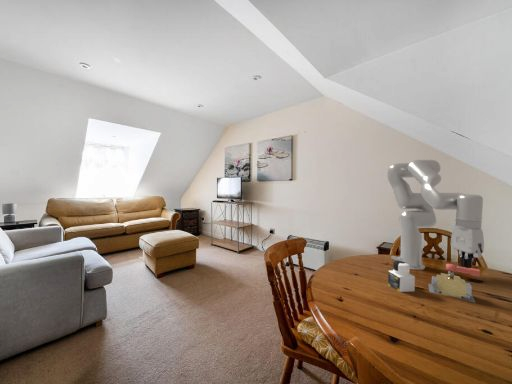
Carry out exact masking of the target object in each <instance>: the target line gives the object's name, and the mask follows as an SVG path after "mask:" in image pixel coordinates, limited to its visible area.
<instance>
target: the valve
mask: <svg viewBox="0 0 512 384" xmlns="http://www.w3.org/2000/svg"><path fill="white" fill-rule="evenodd" d="M431 284H432V287H433V292H437V293H440V291H441V293H442V294H443V295H442V296H445V295H447V296H446V297H449V296H452V297H451V298H453V297H456V298H455V299H458V298H460V299H459V300H462V299H461V297H463V299H468V300H470V295H471V294H472V292H473V291H472V290H473V289H472V288H473V286H472V285H471V283H470V282H466V281H465V279H462V278H461V277H460V276H458V275H455V272H452V271H448V270H447V273H443V272H440V274H436V276H434V275H432V276H431ZM472 295H473V294H472Z"/></svg>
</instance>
